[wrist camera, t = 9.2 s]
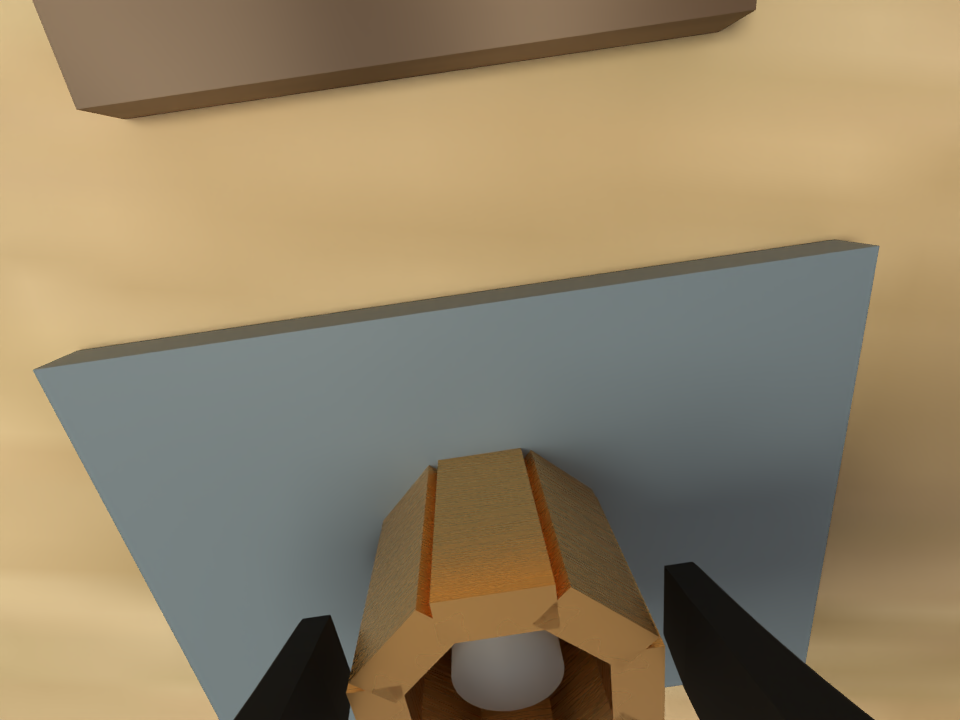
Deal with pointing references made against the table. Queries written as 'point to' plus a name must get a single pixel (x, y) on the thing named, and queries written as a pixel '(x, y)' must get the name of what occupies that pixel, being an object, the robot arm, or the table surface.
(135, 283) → the table surface
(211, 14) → the stand
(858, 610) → the table surface
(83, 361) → the board
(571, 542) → the collar
